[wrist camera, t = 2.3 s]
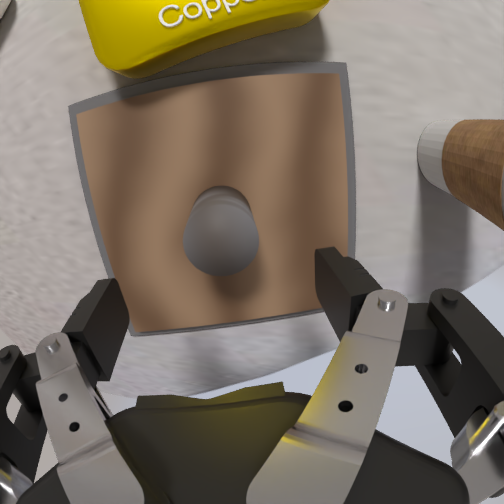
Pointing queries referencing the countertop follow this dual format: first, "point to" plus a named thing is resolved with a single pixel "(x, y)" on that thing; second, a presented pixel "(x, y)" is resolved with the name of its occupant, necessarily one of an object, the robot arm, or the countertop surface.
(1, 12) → the unicorn horn
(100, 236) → the rubber mat
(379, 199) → the countertop surface
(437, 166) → the coffee cup
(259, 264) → the walnut lid
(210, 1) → the element tile
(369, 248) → the countertop surface
